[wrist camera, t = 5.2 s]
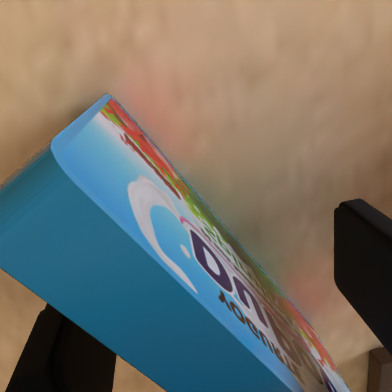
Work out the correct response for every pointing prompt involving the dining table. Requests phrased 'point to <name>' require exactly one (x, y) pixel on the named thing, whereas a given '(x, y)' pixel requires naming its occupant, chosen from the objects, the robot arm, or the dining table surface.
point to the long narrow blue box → (151, 266)
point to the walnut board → (380, 371)
